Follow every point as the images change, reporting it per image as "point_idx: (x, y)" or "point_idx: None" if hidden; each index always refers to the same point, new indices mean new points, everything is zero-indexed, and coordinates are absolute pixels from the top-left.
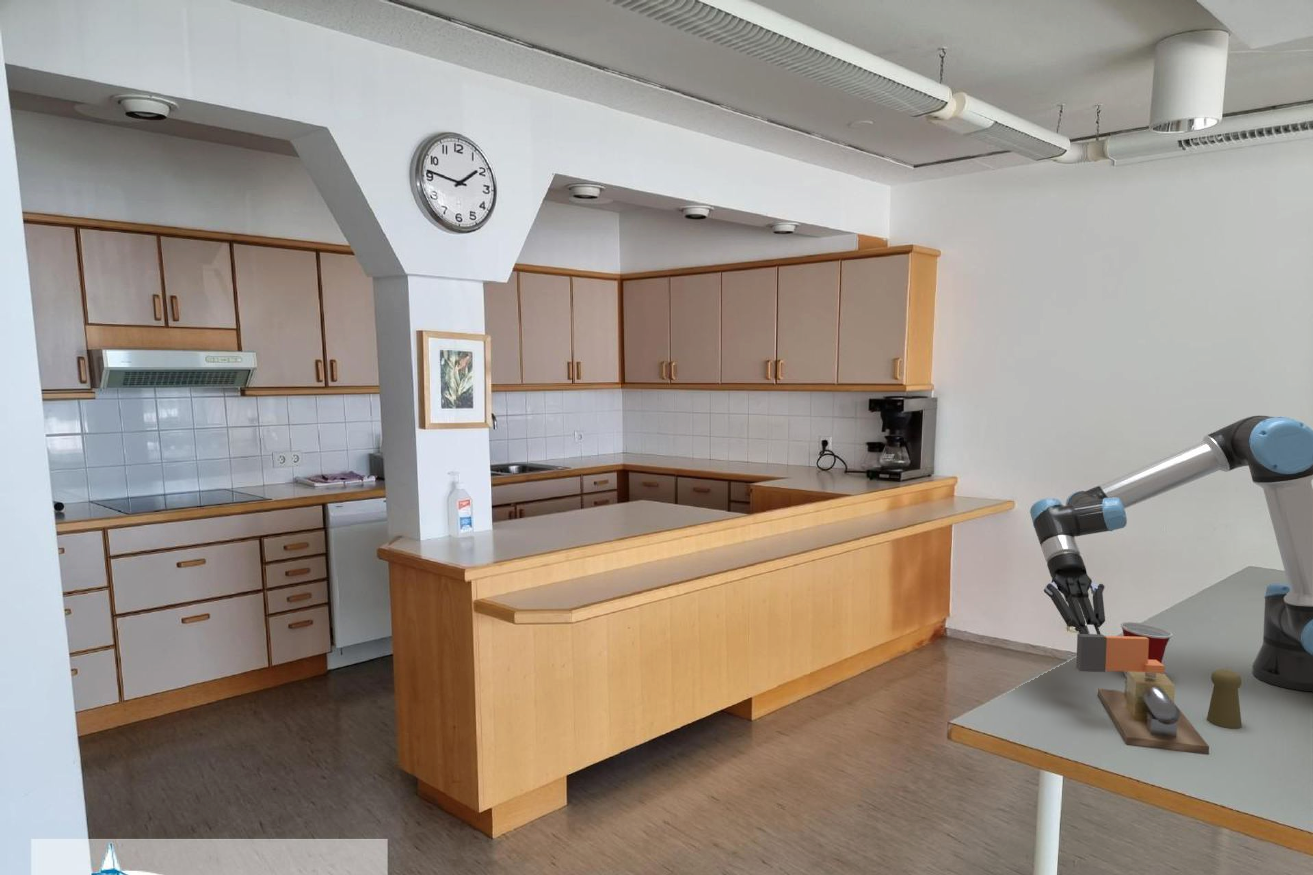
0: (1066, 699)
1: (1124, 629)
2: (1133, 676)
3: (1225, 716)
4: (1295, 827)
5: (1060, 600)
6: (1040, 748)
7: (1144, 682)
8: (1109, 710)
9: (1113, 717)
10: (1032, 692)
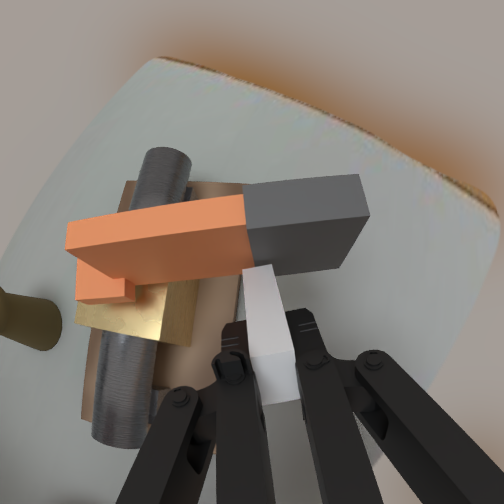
0: None
1: None
2: (163, 286)
3: (39, 299)
4: (156, 57)
5: (478, 458)
6: (396, 154)
7: None
8: None
9: (237, 294)
10: None
